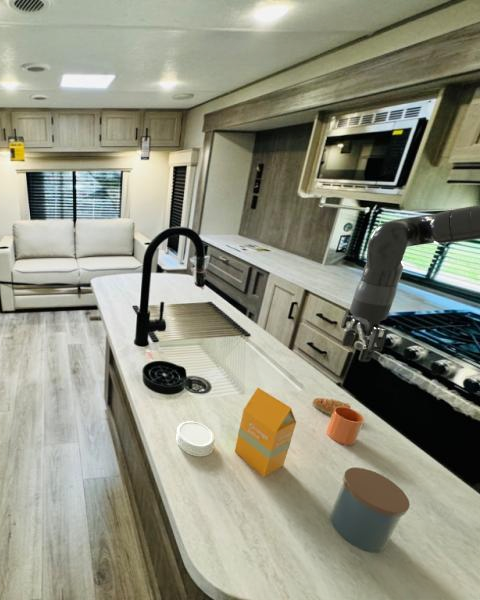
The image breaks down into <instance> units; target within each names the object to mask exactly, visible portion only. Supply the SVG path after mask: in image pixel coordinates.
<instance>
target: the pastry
mask: <svg viewBox="0 0 480 600" xmlns="http://www.w3.org/2000/svg"><path fill="white" fill-rule="evenodd" d="M312 406H314V408H316V409H317V410H318V411H320V412H323V413H324V414H326V415H328V416H330V417H331V416H332V413H333V410H334V408H335V407H339V406H341V407H347V408H350V409H351V405H350V403H348V402H343V401H340V400H337V399H335V398H324V397H323V398H322V397H319V398H318V397H316V398H315V399H313V400H312Z"/></svg>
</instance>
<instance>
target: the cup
mask: <svg viewBox="0 0 480 600" xmlns="http://www.w3.org/2000/svg"><path fill="white" fill-rule="evenodd" d="M364 421H365V418H364V416H363V415H362V414H361V413H360V412H358V411H356V410H354V409H352V408H351V407H350V408H347V407H341V406H339V407H335V408H334V410H333V413H332V416H331V415H330V419H329V422H328V424H327V427H326V431H325V432H326V435H327V436H328V437H329V438H330V439H331V440H333V441H334V442H336V443H338V444H340V445H343V446H344V445H345V446H352V445H354V444H356V441H357V439H358V436H359V434H360V432H361V429H362V427H363V424H364Z"/></svg>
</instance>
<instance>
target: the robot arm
mask: <svg viewBox="0 0 480 600" xmlns="http://www.w3.org/2000/svg"><path fill="white" fill-rule="evenodd" d="M476 240H477V241H478V240H480V204H475V205H471V206H465V207H459V208H454V209H449V210H445V211H441V212H437V213H434V214H433V213H432V214H426V215H417V216H411V217H405V218H399V219H395V220H390V221H386V222H383V223H381V224H379V225H377V226H376V227H375V228H374V229H373V231H372V232H371V235H370V237H369V239H368V244H367V249H366V262H365V265H364V268H363V270H362V273H361V276H360V280H359V282H358V284H357V286H356V288H355V291H354V295H353V298H352V301H351V304H350V307H349V309H346V310H345V313H344V316H343V319H342V322H341V325H340V328H341V329H343V333H344V334H343V338H342V341H341V345H342V346H344V347H351V346H352V345H353V342H354V339H355V336H356V335H355V334H356V333H357V334H358V336H359V340H360V341H361V345H362V347H361V350H360V353H359V356H358V361H359V362H363V363H369V362H370V361H371V359H372V356H373V354H374V352H382V351H383V348H384V345H385V342H386V340H387V336H388V333H389V331H388V329H386V328H385V329H384V328H380V322H382V321H384V320H387V319H388V316H389V314H390V311H391V308H392V305H393V303H394V300H395V297H396V295H397V290H398V285H399V282H400V279H401V277H402V274H403V271H404V264H403V258H404V256H405V254H406V250H407V248H408V247H413V246H414V247H415V246H422V245H428V244H435V243H436V244H453V243H460V242H469V241H476Z"/></svg>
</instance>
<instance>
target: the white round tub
mask: <svg viewBox="0 0 480 600" xmlns="http://www.w3.org/2000/svg"><path fill="white" fill-rule="evenodd" d="M175 439H176V444H177V445H178V447H179V448H180V449H181V450H182V451H183V452H185V453H187V454H188V455H189V456H190V455H191V456H194V457H207V456H209V455H211V453H212V452H213V451H214V447H215V442H216V439H215V434H214V433H213V431H212V430H211V429H210V428H209V427H207V426H206V425H205V424H204V423H200V422H197V421H192V420H191V421H189V420H188V421H184V422H182V423H180V424H179V425H178V426H177V428H176V434H175Z"/></svg>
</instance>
